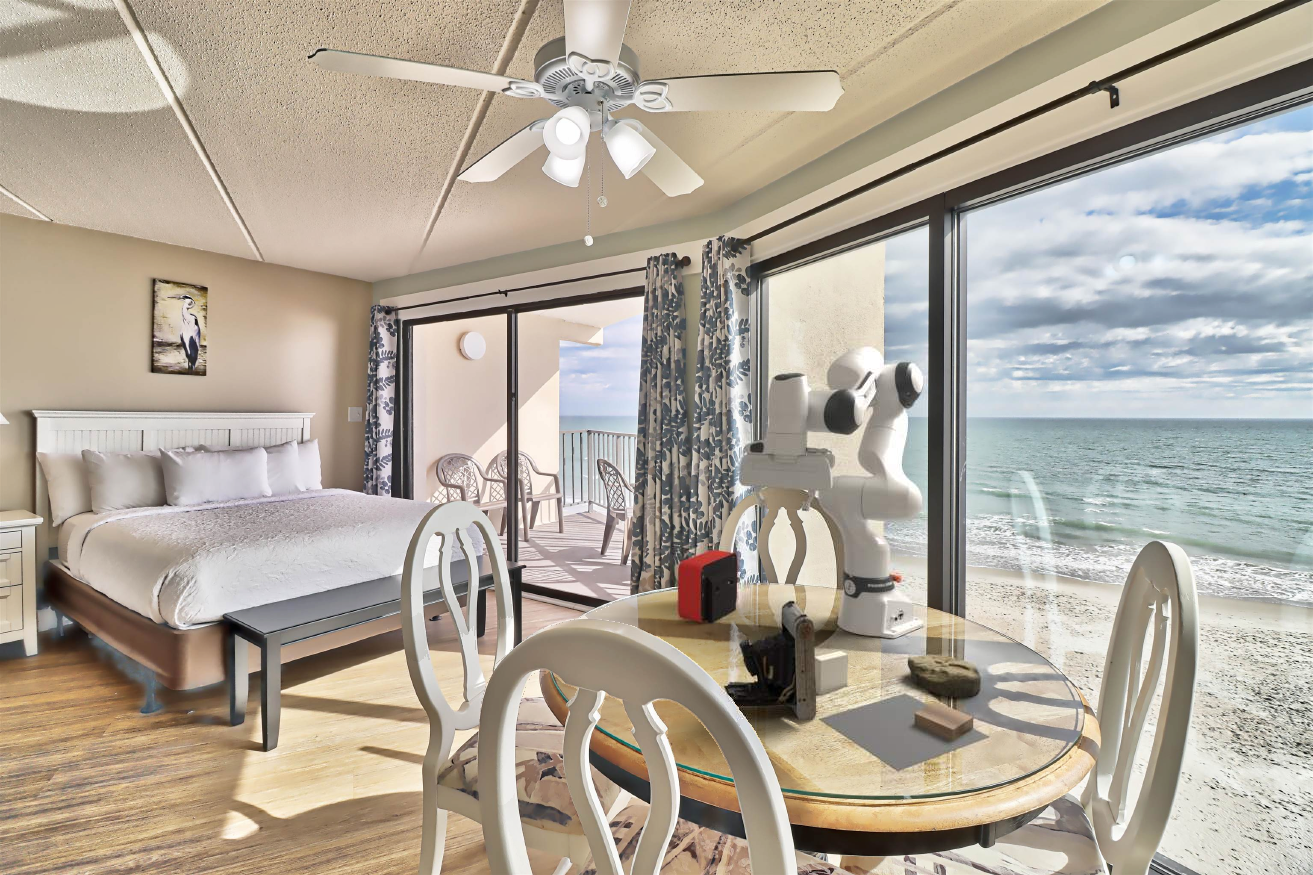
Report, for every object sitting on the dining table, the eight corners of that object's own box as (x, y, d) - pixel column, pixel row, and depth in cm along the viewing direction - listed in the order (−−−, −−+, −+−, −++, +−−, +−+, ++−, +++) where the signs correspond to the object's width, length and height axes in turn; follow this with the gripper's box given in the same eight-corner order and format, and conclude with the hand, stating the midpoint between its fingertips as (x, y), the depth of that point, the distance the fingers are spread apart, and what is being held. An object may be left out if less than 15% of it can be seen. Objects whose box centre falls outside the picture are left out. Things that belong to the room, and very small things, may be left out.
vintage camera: (723, 703, 121) (720, 603, 120) (800, 697, 122) (799, 598, 121) (733, 730, 112) (730, 622, 110) (817, 723, 113) (816, 616, 111)
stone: (957, 708, 119) (958, 680, 119) (897, 681, 130) (897, 656, 130) (994, 691, 126) (995, 665, 126) (934, 667, 137) (935, 644, 137)
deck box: (839, 683, 129) (840, 650, 128) (847, 687, 127) (847, 654, 126) (813, 690, 126) (813, 657, 125) (820, 695, 124) (821, 660, 123)
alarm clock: (743, 607, 177) (744, 552, 176) (707, 627, 161) (707, 567, 160) (714, 601, 183) (714, 548, 182) (676, 620, 166) (676, 562, 166)
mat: (905, 696, 123) (905, 693, 123) (989, 740, 107) (989, 736, 107) (818, 721, 113) (818, 718, 113) (897, 774, 97) (897, 770, 97)
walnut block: (935, 712, 115) (935, 701, 115) (973, 728, 110) (973, 717, 110) (914, 724, 111) (914, 713, 111) (952, 740, 106) (953, 729, 106)
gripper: (836, 448, 137) (833, 510, 137) (744, 443, 144) (742, 503, 144) (833, 449, 131) (831, 514, 131) (738, 444, 138) (736, 506, 138)
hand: (784, 508), depth 138 cm, fingers open, 8 cm apart
